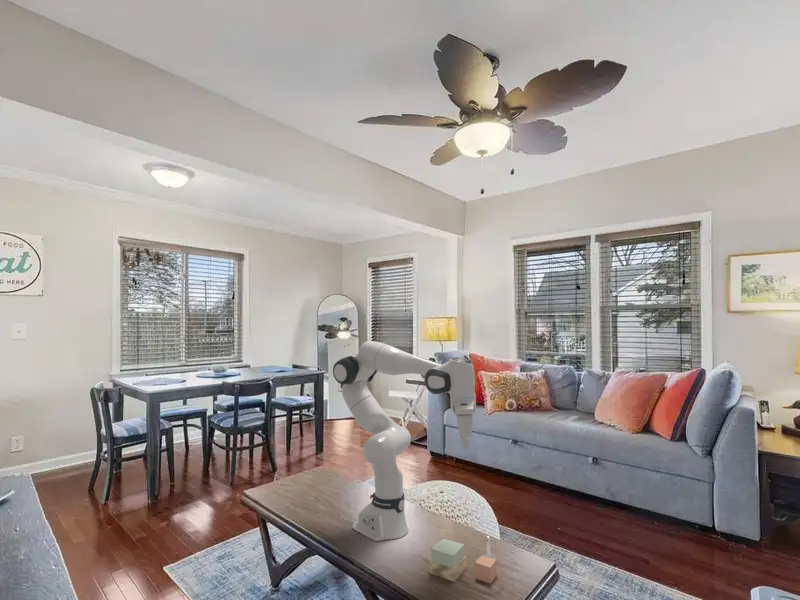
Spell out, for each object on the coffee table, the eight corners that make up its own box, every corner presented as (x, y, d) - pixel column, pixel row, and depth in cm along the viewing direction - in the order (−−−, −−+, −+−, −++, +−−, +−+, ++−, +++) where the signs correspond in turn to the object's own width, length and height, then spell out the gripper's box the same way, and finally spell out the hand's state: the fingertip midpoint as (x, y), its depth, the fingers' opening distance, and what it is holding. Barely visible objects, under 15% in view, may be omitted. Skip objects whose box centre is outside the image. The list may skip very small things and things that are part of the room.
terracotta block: (475, 578, 139) (475, 562, 139) (482, 571, 143) (481, 555, 143) (490, 583, 136) (490, 567, 136) (496, 575, 140) (496, 559, 140)
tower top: (431, 561, 142) (431, 548, 143) (443, 550, 149) (442, 538, 149) (453, 568, 138) (453, 555, 138) (464, 556, 145) (464, 544, 145)
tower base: (429, 574, 142) (429, 561, 142) (442, 561, 150) (442, 549, 150) (454, 582, 137) (454, 569, 137) (466, 568, 145) (466, 556, 145)
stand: (473, 562, 148) (486, 553, 153) (485, 568, 144) (499, 558, 150) (472, 539, 148) (486, 531, 154) (485, 544, 145) (498, 536, 150)
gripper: (453, 399, 162) (455, 437, 161) (454, 410, 142) (456, 453, 141) (470, 399, 162) (472, 437, 161) (474, 410, 141) (476, 453, 140)
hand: (465, 445), depth 151 cm, fingers open, 8 cm apart
